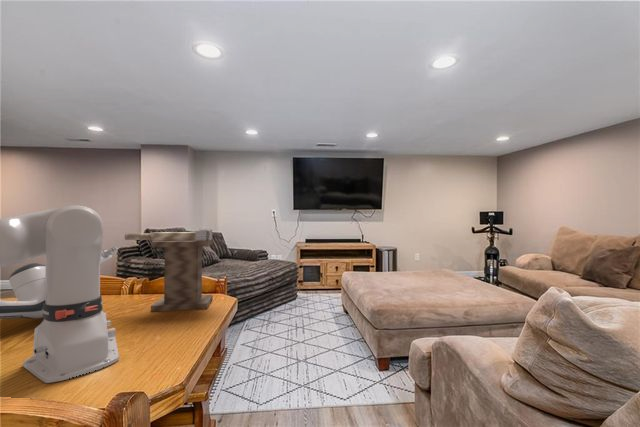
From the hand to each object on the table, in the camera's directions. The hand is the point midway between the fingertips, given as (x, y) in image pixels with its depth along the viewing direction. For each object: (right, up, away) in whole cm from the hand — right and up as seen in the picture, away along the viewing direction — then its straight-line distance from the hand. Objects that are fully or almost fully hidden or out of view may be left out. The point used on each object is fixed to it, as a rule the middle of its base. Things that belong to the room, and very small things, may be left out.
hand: (109, 250), depth 112 cm
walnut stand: (+26, -23, +5) cm, 35 cm away
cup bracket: (+33, +3, +6) cm, 34 cm away
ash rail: (+18, +3, +3) cm, 19 cm away
